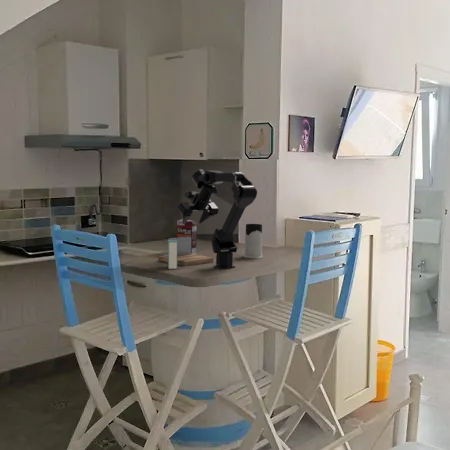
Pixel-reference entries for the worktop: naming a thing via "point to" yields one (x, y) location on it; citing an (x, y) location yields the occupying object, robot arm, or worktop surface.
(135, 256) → the worktop surface
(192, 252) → the supplement box
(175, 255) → the teal rectangular block
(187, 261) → the wooden board
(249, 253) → the glass holder
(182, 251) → the grey metal bookend
